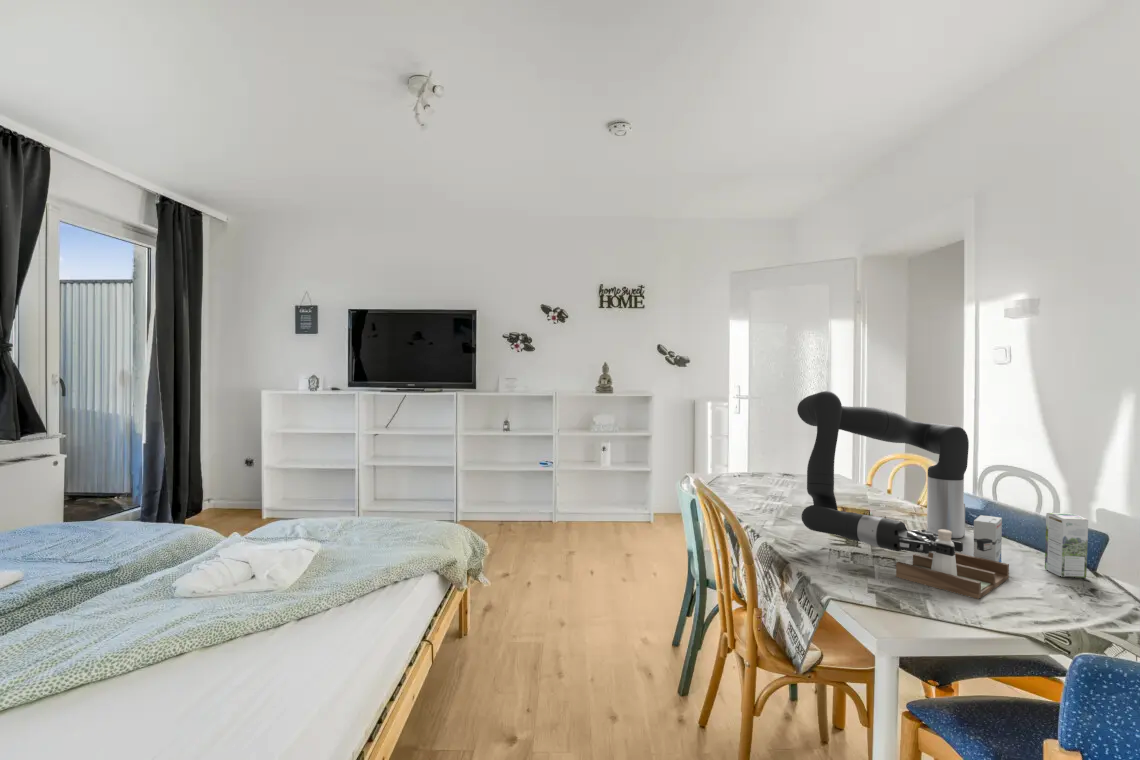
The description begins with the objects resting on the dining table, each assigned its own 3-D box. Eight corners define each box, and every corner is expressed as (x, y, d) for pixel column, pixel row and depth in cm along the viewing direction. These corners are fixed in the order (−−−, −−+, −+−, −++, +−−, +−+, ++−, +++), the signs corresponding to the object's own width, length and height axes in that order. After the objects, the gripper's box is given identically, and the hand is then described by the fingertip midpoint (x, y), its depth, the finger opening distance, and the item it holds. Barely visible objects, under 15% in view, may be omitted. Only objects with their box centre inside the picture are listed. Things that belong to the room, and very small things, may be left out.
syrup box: (1068, 570, 143) (1069, 512, 143) (1087, 578, 137) (1088, 518, 137) (1044, 569, 144) (1044, 511, 143) (1061, 578, 138) (1062, 517, 137)
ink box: (979, 558, 152) (979, 514, 152) (1002, 562, 149) (1002, 517, 149) (972, 565, 146) (972, 519, 146) (995, 570, 143) (996, 523, 143)
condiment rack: (930, 560, 151) (930, 546, 151) (1008, 578, 137) (1008, 564, 137) (896, 576, 139) (896, 562, 139) (978, 599, 125) (978, 583, 125)
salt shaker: (946, 572, 138) (947, 527, 138) (963, 581, 133) (964, 533, 132) (924, 573, 138) (926, 527, 138) (940, 581, 132) (941, 534, 132)
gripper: (868, 522, 142) (946, 538, 128) (894, 513, 151) (970, 528, 137) (868, 552, 142) (946, 572, 128) (893, 541, 151) (969, 559, 137)
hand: (958, 549), depth 133 cm, fingers open, 4 cm apart
